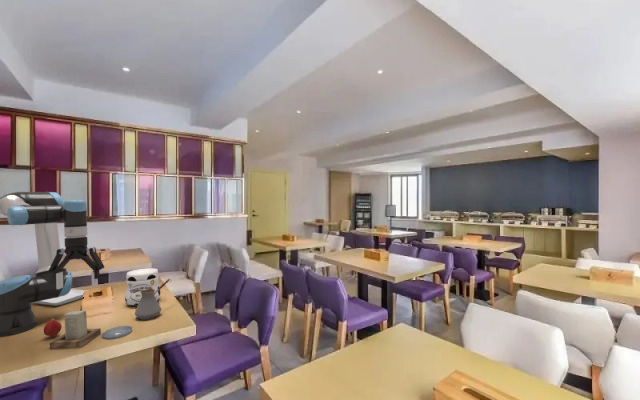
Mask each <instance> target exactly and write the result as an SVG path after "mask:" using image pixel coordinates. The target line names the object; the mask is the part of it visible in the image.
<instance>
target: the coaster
mask: <svg viewBox="0 0 640 400" xmlns="http://www.w3.org/2000/svg"><path fill="white" fill-rule="evenodd" d="M132 332H133V327H132V326H130V325H120V326H115V327H111V328H108V329H106V330H105V331H103V332H102V334H101V336H102V339H104V340H115V339H120V338H124V337H126V336H128V335H130V334H131V333H132Z"/></svg>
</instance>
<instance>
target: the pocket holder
mask: <svg viewBox="0 0 640 400" xmlns="http://www.w3.org/2000/svg"><path fill="white" fill-rule="evenodd" d="M101 333H102V330H101V328H87V335H85V336H84V337H82V338H81V339H76V340H66V337H65V333H64V334H62V335H61V336H58V337H56V338H55V339H54V340H52V341H50V342H49V343H48V345H49V350H56V349H57V350H59V349H60V350H62V349H64V350H65V349H79V348H80V349H82V348H83V347H85V346H86V345H88V344H89V343H91V342H92V341H93V340H95V339H96V338H98V337H99V336H100V335H102V334H101Z"/></svg>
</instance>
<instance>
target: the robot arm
mask: <svg viewBox="0 0 640 400" xmlns="http://www.w3.org/2000/svg"><path fill="white" fill-rule="evenodd" d="M87 210H88V207H87V202H86V200H84V199H72V200H71V199H67V200H64V201H63V198H62V196H61V195H60V194H59V193H58V192H55V191H54V192H53V191H16V192H10V193H7V194H4V195H2V196H0V215H3V216H6V219H7V222H8V224H9V225H10V226H25V225H27V226H28V225H34V231H35V232H34V233H35V241H36V249H37V261H38V270H37V271H36V272H35V275H34V277H32V276H31V275H29V274H25V275H18V276H14V277H10V278H5V279H3V280H0V337H6V336H5V335H7V336H12V335H17V334H20V333H23V332H26V331H29V330H31V329H33V328H35V327H36V326H38V319H37V317H36V316H35V314H34V311H33V310H32V304H34V303H33V302H38V301H43V300H47V299H52V298H58V297H61V296H65V295H67V294H68V293H69V292H70V290H71V289H72V285H73V274H72V272H71V271H68V270H67V267H66V265H67V264H68V263H69V262H70V260H71V261H72V260H82V261H84V263H85V264H87V266H88V267H89V268H90V269H91V270H92V271H91V288H96V287H98V285H99V280H98V279H99V278H100V276H101V275H100V274H101V273H100V271H101V270H103V269H105V264H104V263H103V261H102V260H101V258H100V256H99V255H98V252H97V249H96V247H95V246H93V247H89V248H88V245H89V244H88V216H87V215H88V213H87V212H88V211H87ZM58 223H59V224H60V223H61V224H62V223H63V226H64V228H63V231H64V232H63V233H64V237H65V238H64V240H63V241H64V247H65V248H61V246H60V237H59V228H58ZM88 253H89V254H88ZM64 254H65V256H64ZM62 258H63V259H62Z"/></svg>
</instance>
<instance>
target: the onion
mask: <svg viewBox="0 0 640 400" xmlns="http://www.w3.org/2000/svg"><path fill="white" fill-rule="evenodd" d="M62 327H63V326H62V324H61V322H59V321H58V320H56V319H55V318H52V319H50V320H49V321H48V322H47V323H46V324H45V325H44V328H43V334H44V335H46V336H47V337H50V338H55V337H56V336H57V335H58V334H59V333H60V332H61V330H62Z"/></svg>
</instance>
